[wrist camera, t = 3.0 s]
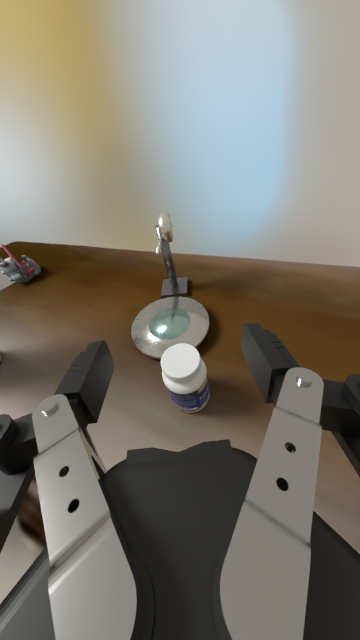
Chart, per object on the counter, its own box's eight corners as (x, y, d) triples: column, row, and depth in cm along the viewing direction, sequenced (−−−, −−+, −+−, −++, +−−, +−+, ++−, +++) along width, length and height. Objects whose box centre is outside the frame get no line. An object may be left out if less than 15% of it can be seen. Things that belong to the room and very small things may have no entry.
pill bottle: (211, 413, 28) (206, 381, 21) (171, 414, 29) (152, 384, 22) (208, 375, 32) (203, 337, 25) (173, 377, 33) (158, 341, 25)
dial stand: (159, 312, 44) (133, 236, 31) (164, 282, 51) (144, 211, 38) (187, 309, 43) (170, 230, 30) (188, 280, 50) (174, 206, 37)
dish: (127, 364, 36) (122, 358, 34) (141, 306, 46) (138, 299, 44) (212, 360, 33) (211, 353, 32) (207, 300, 44) (207, 292, 42)
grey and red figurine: (49, 263, 64) (1, 246, 54) (37, 295, 66) (-12, 283, 56) (37, 255, 71) (-7, 238, 61) (27, 283, 72) (-19, 271, 62)
